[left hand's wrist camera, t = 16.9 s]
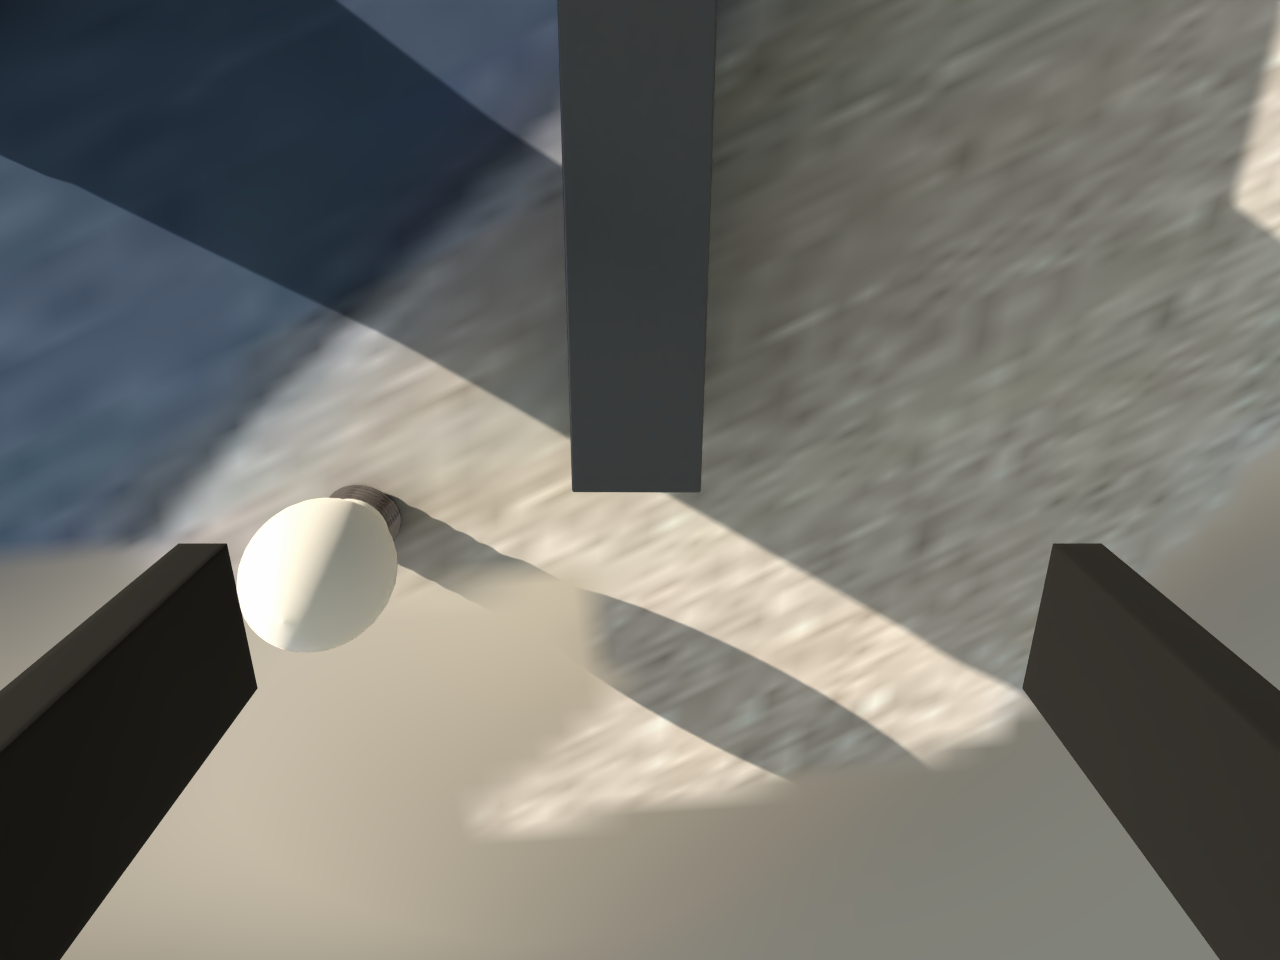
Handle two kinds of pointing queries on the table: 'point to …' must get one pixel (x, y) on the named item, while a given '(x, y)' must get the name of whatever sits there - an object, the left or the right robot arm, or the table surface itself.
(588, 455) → the bar
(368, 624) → the light bulb
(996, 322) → the table surface
